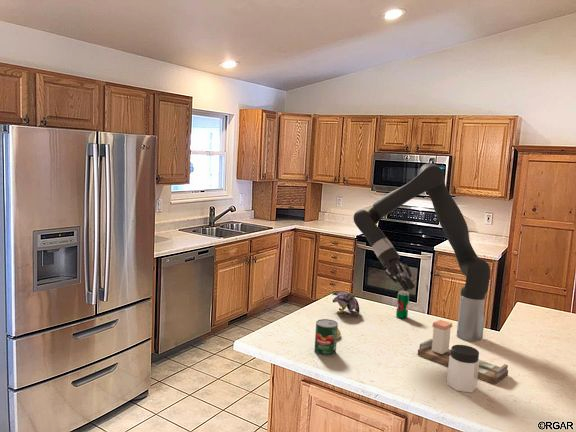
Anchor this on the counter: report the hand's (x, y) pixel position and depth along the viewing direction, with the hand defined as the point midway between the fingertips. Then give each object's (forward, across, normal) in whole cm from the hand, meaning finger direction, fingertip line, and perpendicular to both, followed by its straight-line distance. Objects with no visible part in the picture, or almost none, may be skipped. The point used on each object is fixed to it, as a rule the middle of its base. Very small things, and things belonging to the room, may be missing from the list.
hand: (410, 289), depth 170 cm
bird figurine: (-10, +9, +42) cm, 44 cm away
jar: (+36, -15, -5) cm, 40 cm away
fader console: (+31, 0, 0) cm, 31 cm away
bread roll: (-1, -17, +33) cm, 37 cm away
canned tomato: (+5, -30, +26) cm, 40 cm away
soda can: (+3, +26, +29) cm, 39 cm away
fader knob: (+24, 0, +4) cm, 24 cm away
